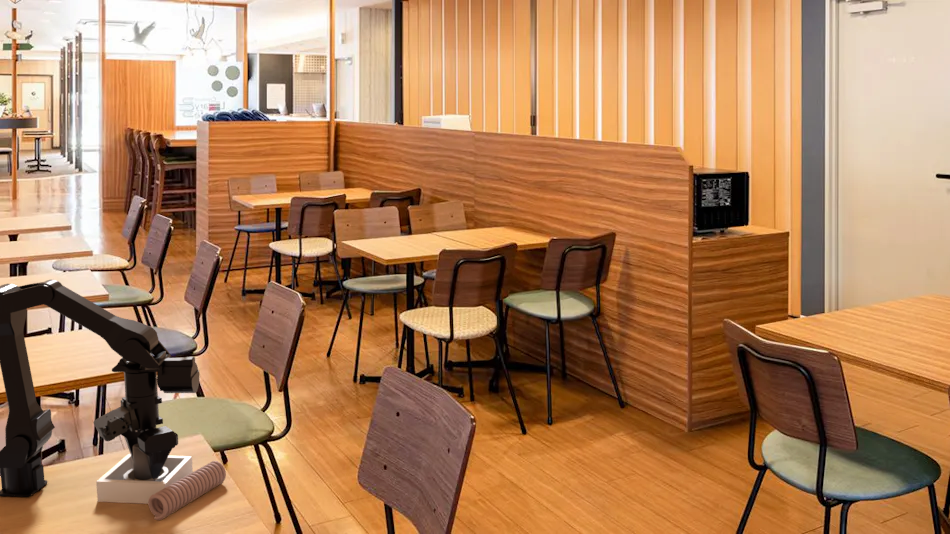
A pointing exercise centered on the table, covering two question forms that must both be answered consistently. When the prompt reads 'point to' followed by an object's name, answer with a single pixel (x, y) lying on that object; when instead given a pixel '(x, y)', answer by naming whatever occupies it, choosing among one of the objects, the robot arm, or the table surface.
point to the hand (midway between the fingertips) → (145, 470)
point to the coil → (186, 490)
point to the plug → (140, 464)
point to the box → (128, 490)
